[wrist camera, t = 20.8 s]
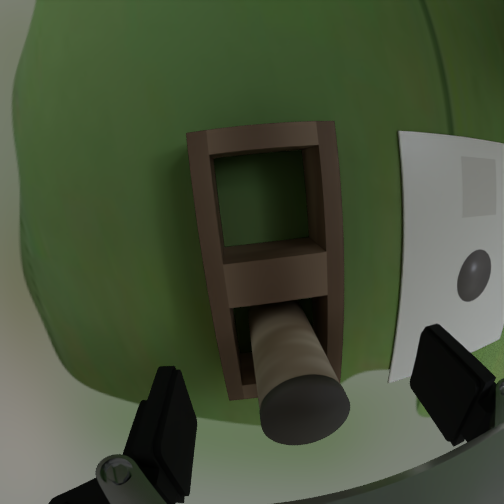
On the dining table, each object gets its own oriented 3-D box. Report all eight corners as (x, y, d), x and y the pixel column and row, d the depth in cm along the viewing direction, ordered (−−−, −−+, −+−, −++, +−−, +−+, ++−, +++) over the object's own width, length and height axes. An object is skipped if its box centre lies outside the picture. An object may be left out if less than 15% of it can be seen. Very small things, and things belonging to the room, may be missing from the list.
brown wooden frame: (314, 130, 14) (334, 121, 11) (325, 353, 17) (340, 383, 14) (195, 141, 14) (186, 133, 11) (229, 367, 17) (229, 400, 14)
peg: (300, 285, 16) (353, 377, 8) (302, 333, 17) (345, 434, 9) (244, 293, 16) (257, 394, 8) (250, 340, 17) (265, 450, 9)
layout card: (518, 146, 15) (519, 146, 14) (498, 338, 19) (499, 339, 19) (397, 131, 14) (399, 130, 14) (387, 382, 19) (388, 383, 18)
